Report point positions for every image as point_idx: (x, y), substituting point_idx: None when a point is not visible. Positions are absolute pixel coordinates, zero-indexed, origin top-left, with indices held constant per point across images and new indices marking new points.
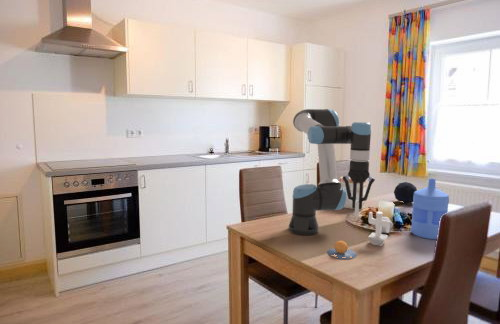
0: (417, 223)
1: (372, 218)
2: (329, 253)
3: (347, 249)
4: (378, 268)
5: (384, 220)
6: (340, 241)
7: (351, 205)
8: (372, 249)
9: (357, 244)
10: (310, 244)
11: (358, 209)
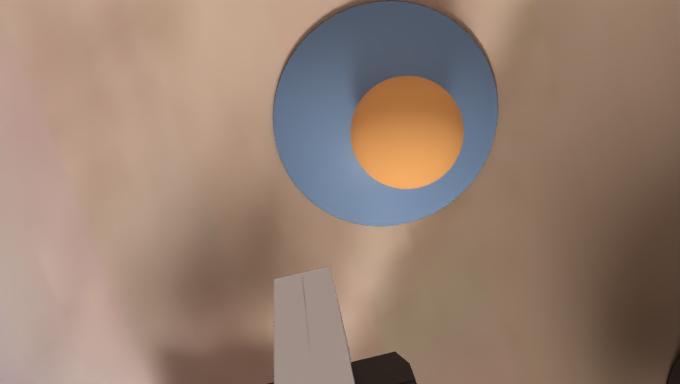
0: None
1: None
2: (470, 55)
3: (374, 218)
4: (40, 3)
5: None
6: (423, 134)
7: None
8: (219, 335)
9: None
10: (654, 153)
11: (277, 353)
